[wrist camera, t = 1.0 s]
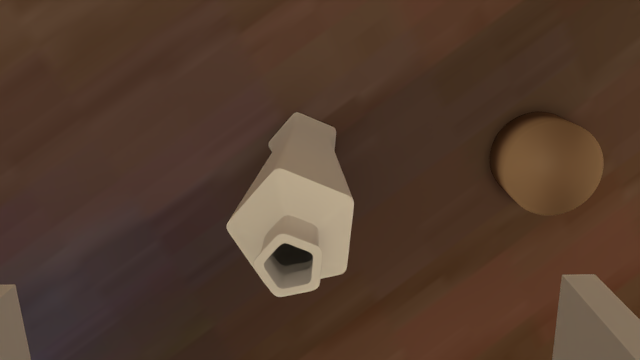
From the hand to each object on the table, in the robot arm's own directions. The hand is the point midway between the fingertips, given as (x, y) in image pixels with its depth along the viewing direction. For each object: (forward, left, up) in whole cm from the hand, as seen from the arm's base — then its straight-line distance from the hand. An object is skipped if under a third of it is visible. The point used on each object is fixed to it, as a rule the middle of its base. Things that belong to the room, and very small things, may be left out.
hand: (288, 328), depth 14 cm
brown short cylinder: (+13, -1, -19) cm, 23 cm away
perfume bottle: (0, 0, -19) cm, 19 cm away
